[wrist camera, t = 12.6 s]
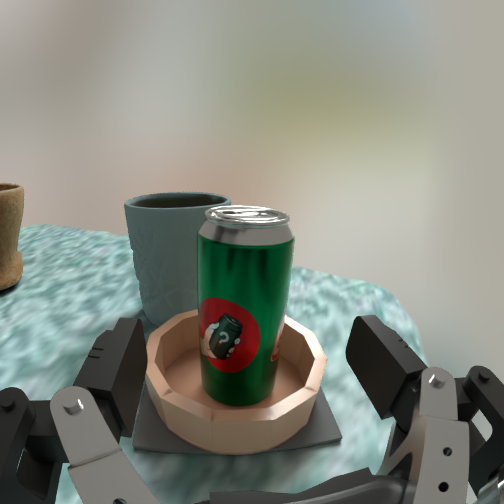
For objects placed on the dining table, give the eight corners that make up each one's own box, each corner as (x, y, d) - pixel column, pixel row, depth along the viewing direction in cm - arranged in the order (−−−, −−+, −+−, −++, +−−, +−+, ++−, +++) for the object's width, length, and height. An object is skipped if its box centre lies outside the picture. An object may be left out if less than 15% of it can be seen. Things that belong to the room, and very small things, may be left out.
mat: (134, 448, 12) (132, 445, 12) (157, 345, 23) (156, 342, 22) (340, 440, 14) (342, 437, 14) (300, 344, 24) (300, 341, 24)
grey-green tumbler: (244, 304, 31) (250, 197, 27) (186, 351, 22) (180, 211, 19) (177, 281, 35) (175, 189, 31) (117, 312, 27) (104, 200, 23)
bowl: (143, 450, 12) (126, 415, 11) (164, 340, 23) (160, 303, 22) (334, 442, 13) (352, 407, 12) (292, 340, 24) (298, 304, 23)
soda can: (284, 404, 16) (315, 224, 12) (208, 416, 15) (202, 224, 11) (261, 358, 21) (276, 205, 17) (197, 365, 19) (193, 204, 16)
